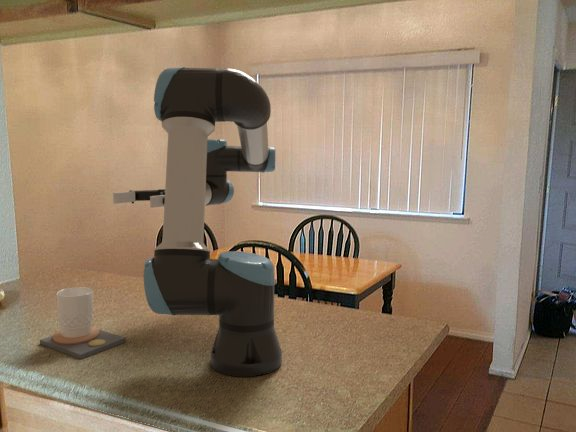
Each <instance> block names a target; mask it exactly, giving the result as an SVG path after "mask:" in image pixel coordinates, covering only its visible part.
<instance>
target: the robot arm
mask: <svg viewBox="0 0 576 432" xmlns="http://www.w3.org/2000/svg"><path fill="white" fill-rule="evenodd" d="M153 95H154V96H153V102H154V103H153V104H154V105H153V110H154V114H155V117H156V119H157V121H160V122H161V127H162V129H163V130H164V131H165V132H166V133H167V147H166V148H167V151H166V167H165V168H166V170H165V187H164V189H161V188H160V189H150V190H148V189H147V190H132V189H131V190H130V189H129V191H123V192H122V191H121V192H120V191H119V192H112V198H113V199H112V200H113V201H112V203H113V204H114V205H115V204H116V205H117V204H125V203H126V204H127V203H131V204H133V205H134V204H135V203H136V201H137V202H138V201H139V202H140V201H141V202H143V201H149V202H150V203H149V204H150V205H149V206H150V207H149V208H152V209H153V208H160V207H163V208H164V209H163V222H162V223H163V226H162V227H163V228H162V240H161V243H159V244H158V245H157V246H156V247H155V248H154V252H153V253H154V254H153V257H150V258H147V259H146V260H145V263H144V269H143V287H144V294H145V298H146V301H147V304H148V306H149V309H150V310H151V311H152V312H154V313H155V314H158V315H170V316H218V330H217V333H216V335H215V338H214V342H213V346H212V349H211V350H210V365H211V367H212V368H213V369H214V370H215V371H216V370H217V372H218V371H219V372H218V373H220V372H221V373H220V374H223V373H224V374H223V375H226V374H228V375H227V376H231V375H234V376H233V377H240V376H250V377H256V376H255V375H259V376H261V375H260V374H263V375H266V374H265V373H267V374H269V373H268V372H270V373H272V372H274V371H276V370H277V369H279V368H280V367H279V366H281V365H282V362H283V353H282V352H283V351H282V348H281V346H280V342H279V339H278V335H277V331H276V329H275V285H276V278H275V266H274V263H273V262H272V260H271V259H269V258H267V257H266V256H264V255H261V254H257V253H253V252H247V251H241V250H233V251H229V250H228V251H222V252H220V253H219V255H218V257H217V259H216V258H215V259H214V258H212V259H211V250H210V249H209V248H208V246H206V244H205V242H204V239H205V238H204V234H205V212H206V210H205V209H206V207H207V206H215V205H218V206H219V205H221V204H226V203H228V202H230V201H231V200H232V199H233V197H234V195H235V188H234V186H233V183H232V182H231V181H230V180H229V179H227V178H228V177H227V176H228V174H227V172H236V173H237V172H241V173H243V172H244V173H245V172H246V173H271V172H272V173H273V172H274V171H276V148H275V147H274V146H269V136H268V135H269V134H268V121H269V120H270V117H271V112H272V111H271V107H272V106H271V102H270V98H269V96H268V94H267V92H266V91H265V89H264V87H262V85H260V84H259V82H258V81H257V80H255V79H254V78H253V77H252V76H250V75H248V74H247V73H246V72H244V71H241V70H238V69H235V68H228V67H227V68H226V67H225V68H216V67H215V68H214V67H213V68H211V67H185V66H179V67H168V68H165V69H164V70H163V71H161V72H160V74H159V75H158V77H157V80H156V84H155V89H154V94H153ZM216 122H221V123H222V122H223V123H225V122H230V123H231V122H233V123H234V124H235V125H236V126H237V132H238V138H239V142H240V145H239V146H238V145H228V143H227V140H226V139H217V138H216V139H214V138H213V139H212V138H211V139H209V136H210V135H212V134H213V132H215V130H216ZM271 371H272V372H271Z"/></svg>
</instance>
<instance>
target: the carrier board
mask: <svg viewBox="0 0 576 432" xmlns="http://www.w3.org/2000/svg"><path fill="white" fill-rule="evenodd" d="M126 342H127V339H126V337H124V336H121V335H118V334H115V333H113V332H112V333H111V332H109V331H106V330H102V329H99V328H98V327H95V326H92V332H91V333H90V334H88V335H86V336H83V337H77V338H66V337H63V336H61V329H59V330H58V331H55V332H54V333H53V334H52V335H51V336H47V337H44V338H41V339H39V344H40V345H42V346H43V347H47V348H49V349H53V350H55V351H57V352H58V351H59V352H61V353H63V354H66V355H69V356H72V357H74V358H77V359H79V360H81V359H82V360H84V359H85V358H87V357H90V356H92V355H95V354H97V353H100V352H101V353H102V352H103V351H105V350H108V349H111V348H114V347H116V346H119V345H121V344H123V343H124V344H125V343H126Z"/></svg>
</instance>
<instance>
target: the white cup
mask: <svg viewBox="0 0 576 432" xmlns="http://www.w3.org/2000/svg"><path fill="white" fill-rule="evenodd" d="M55 296H56V306H57V314H58V323H59V326H60V327H59V328H60V329H59V330H61V336H63V337H66V338H77V337H83V336H86V335H88V334H90V333H91V332H92V327H93V319H94V317H93V314H94V289H93V288H91V287H85V286H74V287H68V288H63V289H60V290H58V291H57V292H56V295H55Z"/></svg>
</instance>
